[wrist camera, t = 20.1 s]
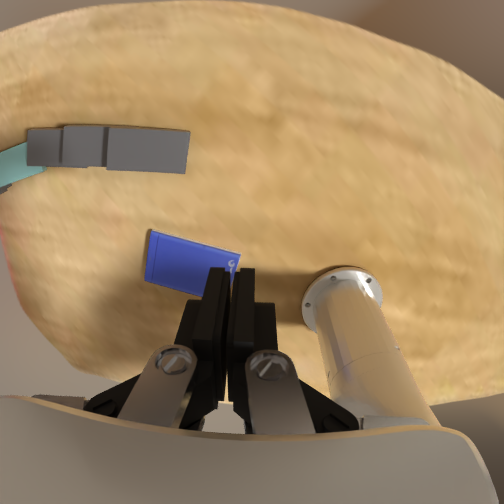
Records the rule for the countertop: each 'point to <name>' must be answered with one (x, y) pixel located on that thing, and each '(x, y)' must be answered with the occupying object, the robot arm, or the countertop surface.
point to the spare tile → (16, 165)
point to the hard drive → (185, 262)
